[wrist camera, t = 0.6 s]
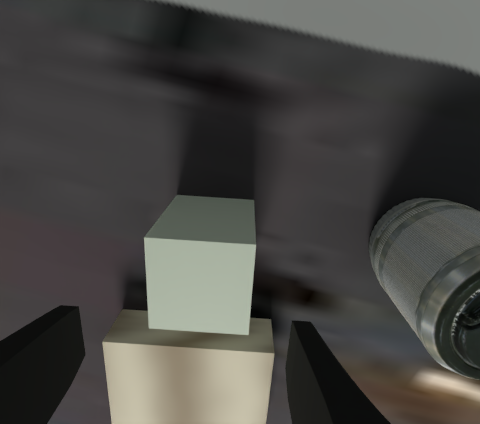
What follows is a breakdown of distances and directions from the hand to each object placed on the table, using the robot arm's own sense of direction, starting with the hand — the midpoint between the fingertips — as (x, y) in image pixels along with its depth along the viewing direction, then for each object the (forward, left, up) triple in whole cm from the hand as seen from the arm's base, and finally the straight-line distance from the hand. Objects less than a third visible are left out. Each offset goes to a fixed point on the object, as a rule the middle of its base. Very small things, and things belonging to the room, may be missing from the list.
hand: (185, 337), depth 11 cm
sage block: (0, 0, -9) cm, 9 cm away
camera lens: (-12, 0, -9) cm, 15 cm away
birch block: (+1, +11, -9) cm, 14 cm away
